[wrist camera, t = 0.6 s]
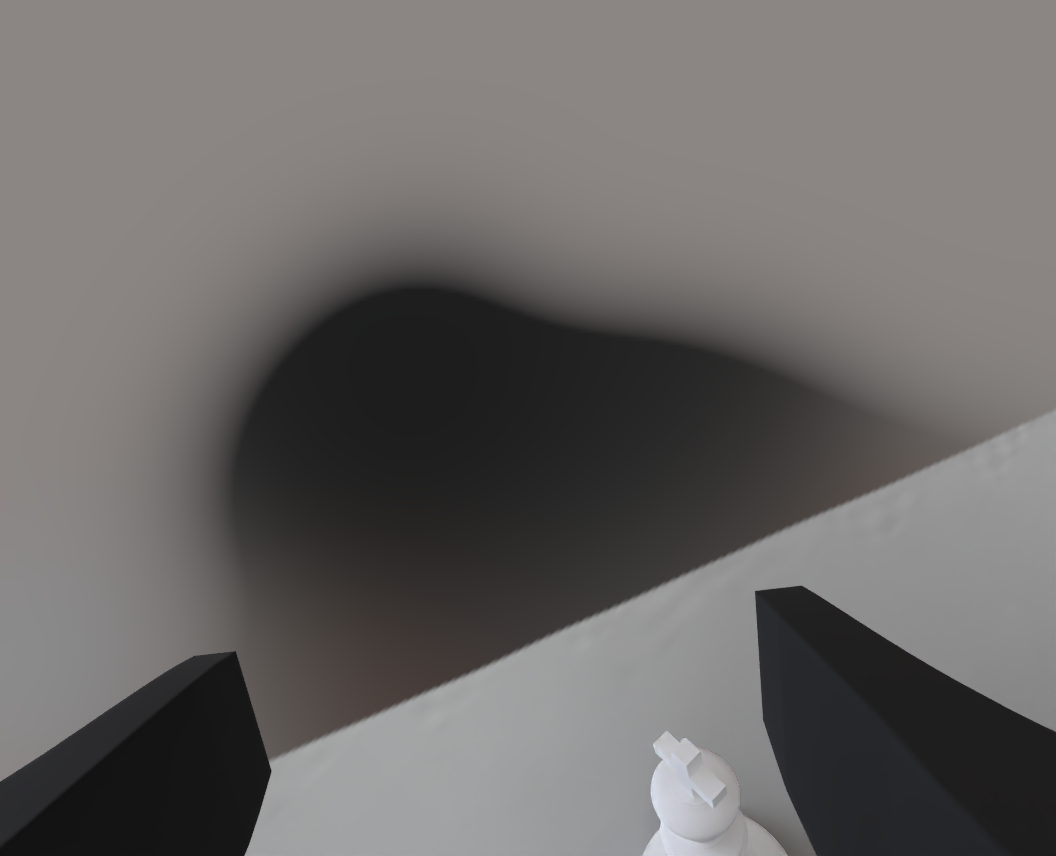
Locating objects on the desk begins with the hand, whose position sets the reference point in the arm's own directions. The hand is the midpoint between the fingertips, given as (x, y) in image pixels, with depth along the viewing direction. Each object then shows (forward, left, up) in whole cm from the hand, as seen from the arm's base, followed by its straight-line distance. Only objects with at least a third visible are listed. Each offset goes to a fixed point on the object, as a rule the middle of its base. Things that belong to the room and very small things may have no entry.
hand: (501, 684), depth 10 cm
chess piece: (+2, -2, -17) cm, 17 cm away
